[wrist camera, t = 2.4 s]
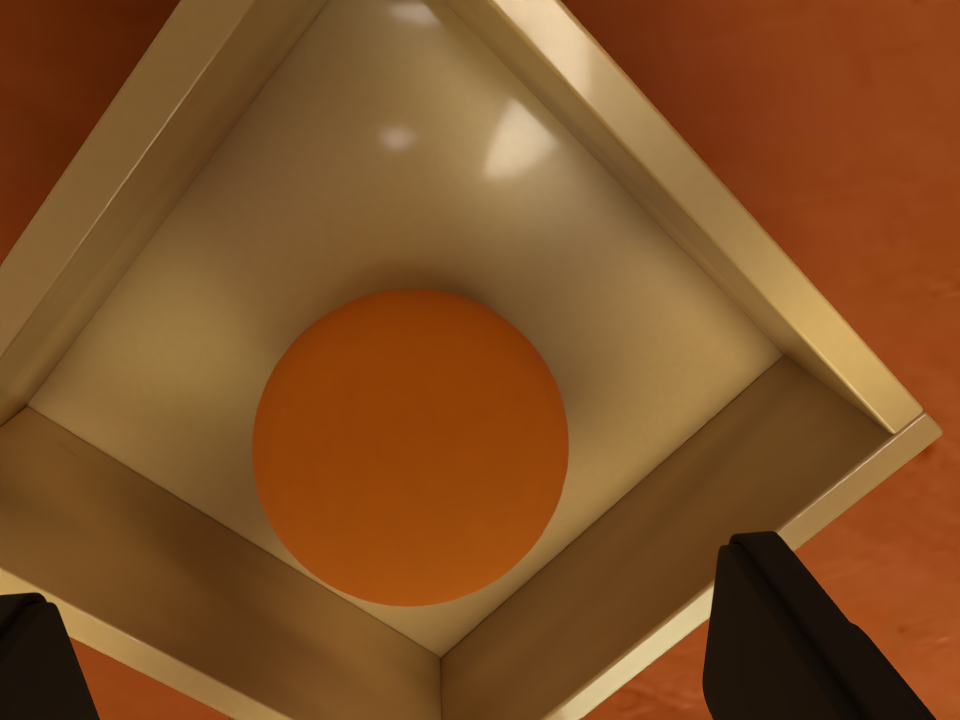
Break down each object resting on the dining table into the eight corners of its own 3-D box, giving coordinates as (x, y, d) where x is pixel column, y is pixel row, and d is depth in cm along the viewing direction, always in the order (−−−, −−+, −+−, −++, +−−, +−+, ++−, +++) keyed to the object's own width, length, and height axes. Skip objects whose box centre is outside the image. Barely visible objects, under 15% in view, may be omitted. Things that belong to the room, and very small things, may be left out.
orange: (236, 390, 17) (125, 564, 11) (401, 198, 15) (383, 271, 9) (429, 524, 19) (430, 734, 13) (592, 367, 17) (682, 519, 11)
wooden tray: (-5, 397, 17) (-172, 516, 12) (374, -126, 13) (344, -245, 8) (442, 667, 22) (446, 827, 17) (812, 343, 18) (947, 432, 13)
